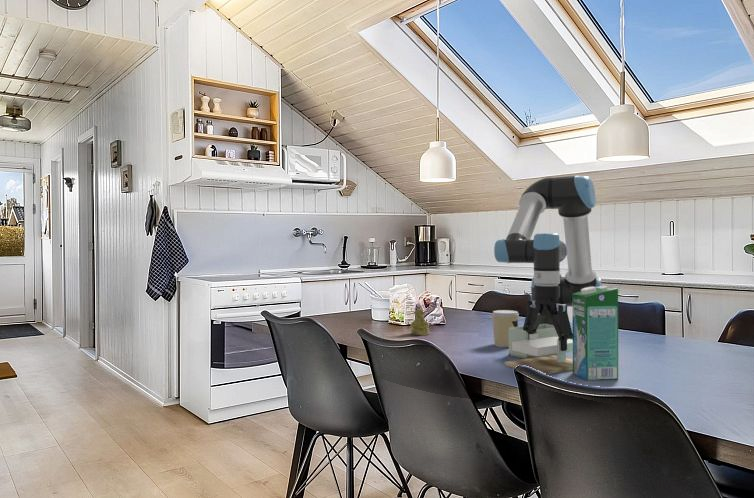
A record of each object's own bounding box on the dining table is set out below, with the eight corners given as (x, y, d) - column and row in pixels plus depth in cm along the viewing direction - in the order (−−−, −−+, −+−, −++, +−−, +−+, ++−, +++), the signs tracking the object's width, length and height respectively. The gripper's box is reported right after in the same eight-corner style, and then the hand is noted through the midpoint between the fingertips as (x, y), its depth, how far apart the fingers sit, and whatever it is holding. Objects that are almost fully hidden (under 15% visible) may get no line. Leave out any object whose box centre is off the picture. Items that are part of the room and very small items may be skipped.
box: (544, 350, 200) (544, 323, 200) (562, 354, 193) (562, 326, 193) (508, 355, 192) (508, 327, 192) (526, 359, 185) (525, 331, 185)
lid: (555, 345, 185) (555, 336, 185) (581, 351, 175) (581, 341, 175) (512, 352, 176) (512, 342, 176) (537, 358, 167) (537, 347, 167)
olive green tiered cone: (432, 334, 234) (432, 309, 234) (418, 336, 230) (417, 311, 229) (421, 332, 240) (421, 307, 240) (406, 334, 236) (406, 309, 235)
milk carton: (572, 372, 167) (572, 285, 166) (603, 371, 168) (602, 284, 167) (586, 380, 158) (586, 288, 157) (618, 379, 159) (618, 287, 158)
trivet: (552, 357, 187) (552, 354, 187) (590, 366, 174) (590, 363, 174) (504, 365, 177) (504, 362, 177) (540, 375, 164) (540, 371, 164)
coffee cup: (519, 347, 204) (519, 313, 204) (492, 347, 206) (492, 313, 206) (518, 343, 213) (518, 310, 213) (492, 342, 215) (492, 309, 215)
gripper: (510, 282, 183) (511, 353, 184) (567, 288, 163) (567, 367, 164) (528, 281, 187) (529, 350, 188) (586, 286, 167) (586, 363, 167)
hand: (547, 358), depth 176 cm, fingers closed on lid, 10 cm apart
